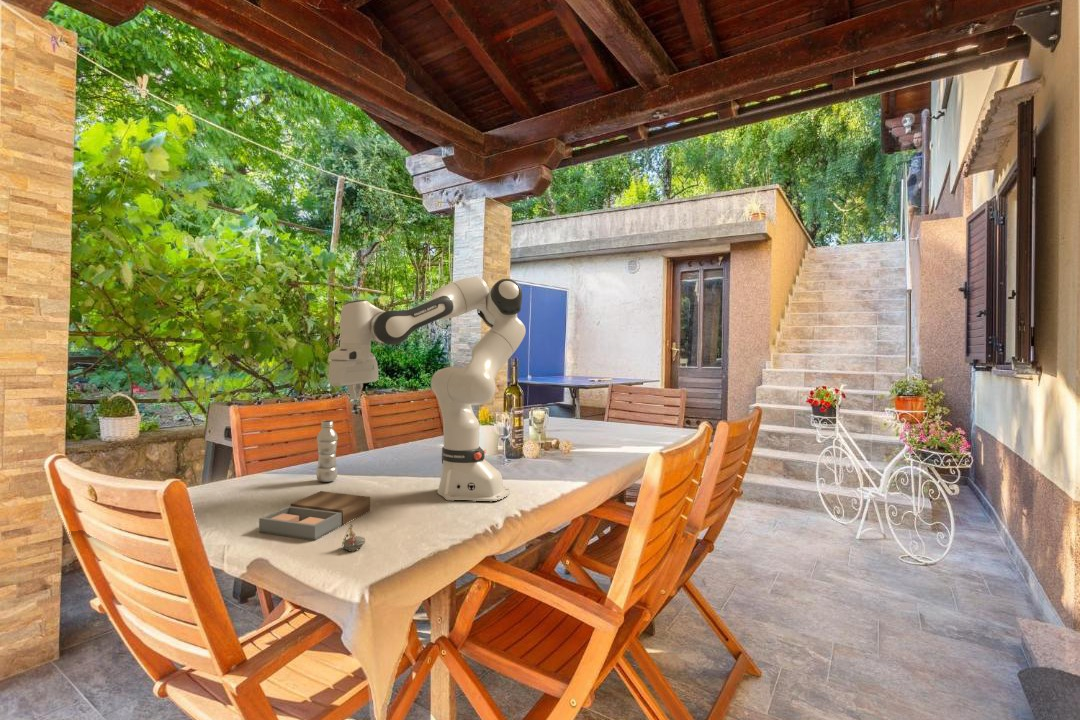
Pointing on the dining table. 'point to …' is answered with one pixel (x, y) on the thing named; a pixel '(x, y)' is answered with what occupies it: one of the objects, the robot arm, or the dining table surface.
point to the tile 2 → (311, 520)
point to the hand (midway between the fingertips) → (355, 398)
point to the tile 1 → (287, 517)
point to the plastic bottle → (327, 452)
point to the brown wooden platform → (336, 504)
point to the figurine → (352, 541)
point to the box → (300, 529)
